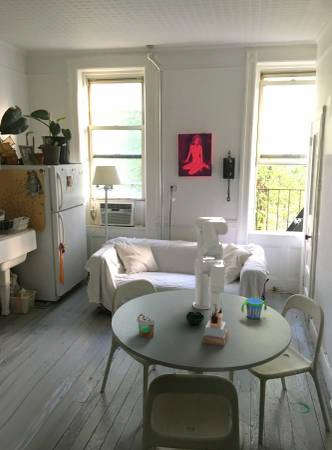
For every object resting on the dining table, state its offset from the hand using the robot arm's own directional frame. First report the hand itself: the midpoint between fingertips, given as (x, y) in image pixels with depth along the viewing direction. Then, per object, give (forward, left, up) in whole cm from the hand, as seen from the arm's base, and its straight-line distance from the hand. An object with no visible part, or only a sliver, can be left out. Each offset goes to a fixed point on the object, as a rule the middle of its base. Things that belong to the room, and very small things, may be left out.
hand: (216, 319), depth 200 cm
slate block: (-1, 0, -8) cm, 8 cm away
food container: (+7, -38, -12) cm, 40 cm away
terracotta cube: (-1, 0, -3) cm, 3 cm away
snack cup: (-37, +15, -12) cm, 42 cm away
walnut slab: (-1, 0, -12) cm, 12 cm away
